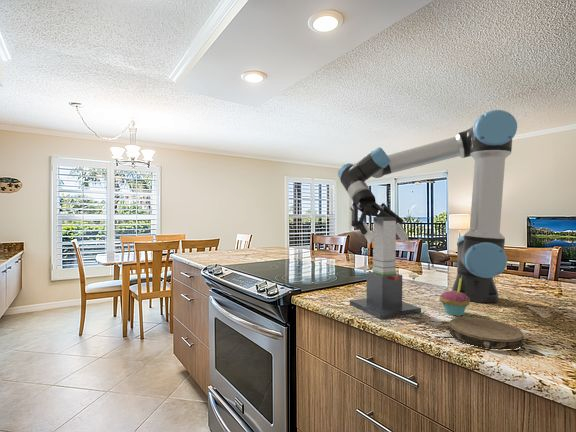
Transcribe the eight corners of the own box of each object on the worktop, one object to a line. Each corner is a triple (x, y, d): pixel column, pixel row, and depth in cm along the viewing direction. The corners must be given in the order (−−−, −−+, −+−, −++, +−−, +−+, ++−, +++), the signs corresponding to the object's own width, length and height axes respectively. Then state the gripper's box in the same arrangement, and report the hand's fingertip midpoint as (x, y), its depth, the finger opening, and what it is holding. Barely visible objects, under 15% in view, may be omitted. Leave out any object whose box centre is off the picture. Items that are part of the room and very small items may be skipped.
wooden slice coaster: (533, 342, 79) (534, 330, 79) (506, 358, 70) (506, 345, 70) (467, 324, 92) (467, 313, 92) (437, 336, 83) (437, 324, 83)
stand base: (387, 300, 116) (387, 268, 116) (421, 312, 101) (421, 276, 101) (349, 304, 110) (349, 271, 110) (380, 318, 95) (380, 280, 95)
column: (385, 282, 109) (385, 217, 109) (395, 285, 104) (396, 217, 104) (372, 283, 107) (373, 216, 107) (383, 286, 102) (383, 217, 102)
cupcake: (462, 310, 104) (463, 273, 104) (475, 318, 96) (475, 278, 96) (435, 309, 105) (435, 272, 105) (445, 317, 97) (445, 278, 97)
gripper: (384, 204, 124) (412, 246, 111) (328, 203, 115) (351, 249, 101) (393, 189, 119) (424, 231, 106) (335, 187, 110) (361, 233, 96)
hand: (389, 240), depth 103 cm, fingers open, 13 cm apart
